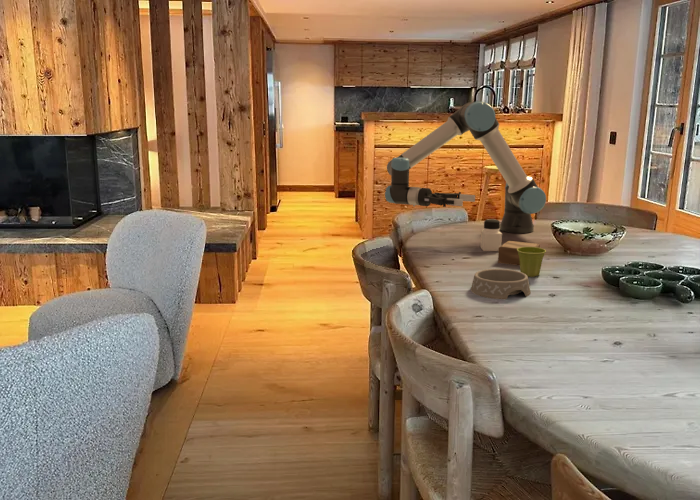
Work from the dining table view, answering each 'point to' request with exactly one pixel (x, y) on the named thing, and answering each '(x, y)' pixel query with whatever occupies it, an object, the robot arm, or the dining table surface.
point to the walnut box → (512, 252)
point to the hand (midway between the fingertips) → (468, 200)
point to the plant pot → (530, 260)
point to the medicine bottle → (491, 235)
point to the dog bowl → (500, 283)
